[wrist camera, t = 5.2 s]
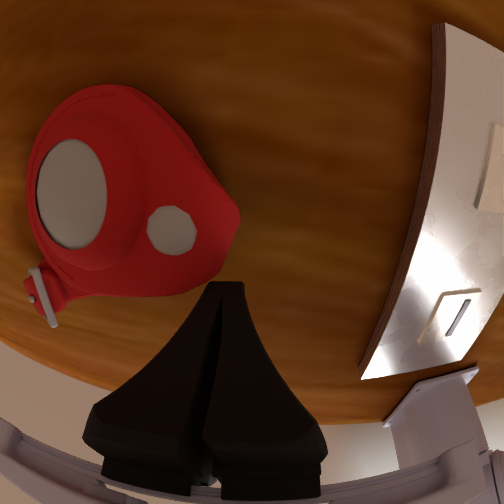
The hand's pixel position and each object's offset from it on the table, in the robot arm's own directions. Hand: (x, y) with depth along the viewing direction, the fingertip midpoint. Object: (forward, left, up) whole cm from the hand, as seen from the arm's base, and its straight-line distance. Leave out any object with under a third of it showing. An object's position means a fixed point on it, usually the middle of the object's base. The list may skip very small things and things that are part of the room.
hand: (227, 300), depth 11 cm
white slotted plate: (+1, -13, -2) cm, 13 cm away
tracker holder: (+3, +6, -2) cm, 7 cm away
